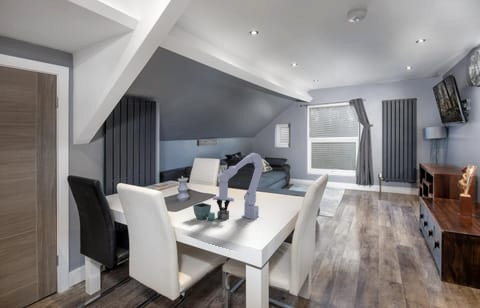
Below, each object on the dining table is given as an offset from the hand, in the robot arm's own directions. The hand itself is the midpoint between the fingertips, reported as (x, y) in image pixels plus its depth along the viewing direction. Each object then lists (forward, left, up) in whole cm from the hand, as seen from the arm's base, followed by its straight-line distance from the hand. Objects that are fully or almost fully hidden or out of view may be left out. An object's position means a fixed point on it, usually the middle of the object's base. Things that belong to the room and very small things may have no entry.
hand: (223, 211), depth 161 cm
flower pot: (+11, +9, -5) cm, 15 cm away
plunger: (0, 0, -4) cm, 4 cm away
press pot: (0, 0, -5) cm, 5 cm away
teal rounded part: (+4, +7, -5) cm, 10 cm away
